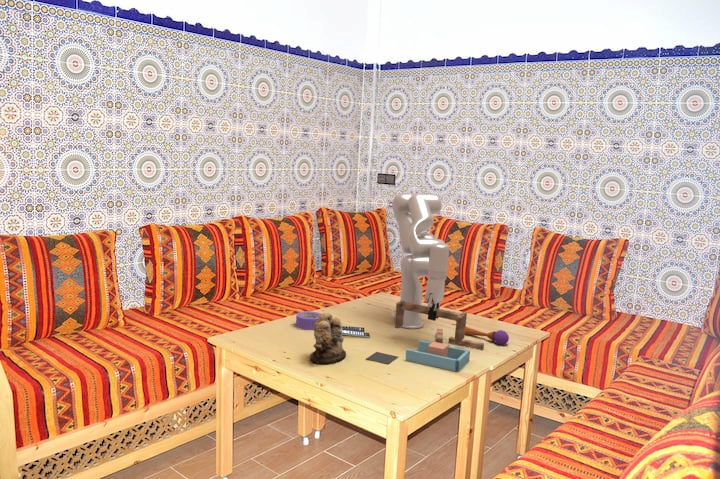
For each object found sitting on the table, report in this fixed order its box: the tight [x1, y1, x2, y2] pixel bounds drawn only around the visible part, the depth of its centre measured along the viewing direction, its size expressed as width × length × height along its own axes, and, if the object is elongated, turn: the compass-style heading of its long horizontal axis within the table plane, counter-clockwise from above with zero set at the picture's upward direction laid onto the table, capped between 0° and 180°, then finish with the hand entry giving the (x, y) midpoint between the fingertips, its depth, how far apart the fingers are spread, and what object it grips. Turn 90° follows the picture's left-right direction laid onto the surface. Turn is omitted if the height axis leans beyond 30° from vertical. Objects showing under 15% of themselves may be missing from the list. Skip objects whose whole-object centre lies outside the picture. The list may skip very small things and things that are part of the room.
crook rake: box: [394, 300, 468, 344], centre depth 232 cm, size 28×8×10 cm, turn 63°
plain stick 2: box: [448, 336, 485, 351], centre depth 233 cm, size 14×2×2 cm, turn 63°
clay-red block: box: [428, 341, 449, 357], centre depth 214 cm, size 6×6×6 cm
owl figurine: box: [309, 312, 347, 366], centre depth 210 cm, size 18×12×17 cm, turn 157°
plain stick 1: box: [435, 328, 444, 344], centre depth 240 cm, size 14×2×2 cm, turn 172°
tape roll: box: [295, 311, 322, 331], centre depth 249 cm, size 12×12×5 cm
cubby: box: [405, 339, 471, 373], centre depth 214 cm, size 20×13×4 cm, turn 63°
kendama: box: [465, 326, 510, 346], centre depth 242 cm, size 6×6×20 cm
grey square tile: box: [365, 351, 399, 365], centre depth 214 cm, size 9×9×1 cm
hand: (433, 318), depth 231 cm, fingers closed on crook rake, 2 cm apart
